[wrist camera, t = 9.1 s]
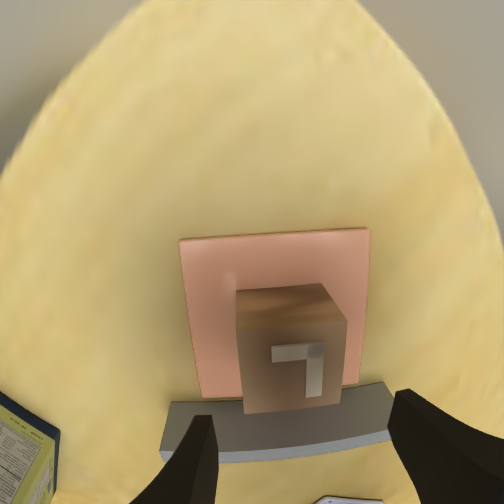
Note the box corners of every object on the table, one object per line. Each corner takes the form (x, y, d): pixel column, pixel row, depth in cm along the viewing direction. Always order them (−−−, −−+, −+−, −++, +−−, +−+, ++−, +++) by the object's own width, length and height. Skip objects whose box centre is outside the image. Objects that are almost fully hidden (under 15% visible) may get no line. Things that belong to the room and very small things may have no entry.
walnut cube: (321, 283, 19) (348, 322, 14) (319, 354, 20) (340, 404, 15) (236, 290, 19) (235, 333, 14) (242, 362, 20) (244, 416, 15)
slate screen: (383, 382, 22) (409, 423, 17) (381, 393, 22) (405, 435, 17) (171, 402, 21) (159, 450, 16) (174, 413, 21) (163, 461, 17)
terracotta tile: (366, 228, 19) (370, 229, 18) (355, 378, 21) (357, 382, 21) (180, 239, 18) (178, 241, 18) (203, 392, 21) (202, 397, 20)
